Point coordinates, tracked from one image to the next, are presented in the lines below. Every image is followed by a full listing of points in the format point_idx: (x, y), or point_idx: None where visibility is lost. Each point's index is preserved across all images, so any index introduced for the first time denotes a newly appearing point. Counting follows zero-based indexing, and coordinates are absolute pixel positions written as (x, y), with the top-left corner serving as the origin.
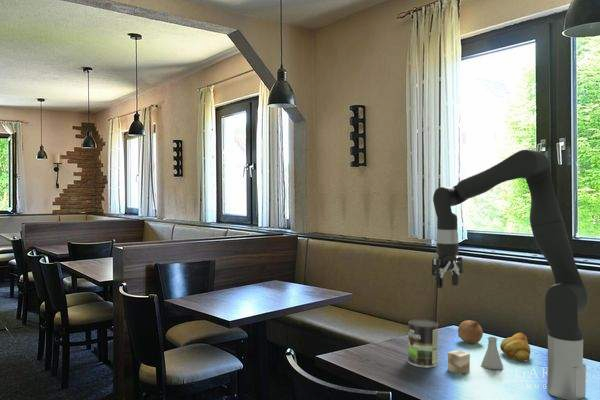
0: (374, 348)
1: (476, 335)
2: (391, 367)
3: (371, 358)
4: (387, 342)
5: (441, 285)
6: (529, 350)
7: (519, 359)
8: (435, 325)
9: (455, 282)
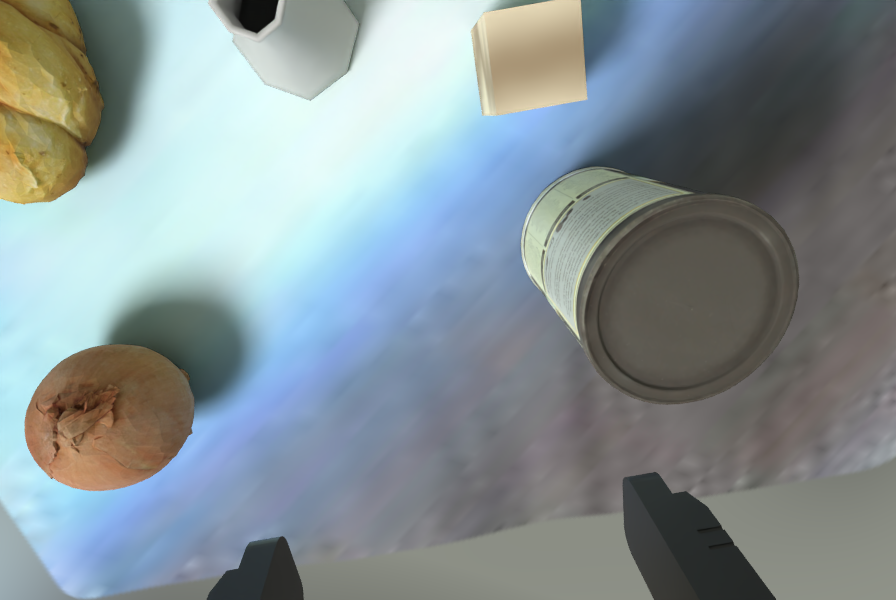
0: (641, 467)
1: (122, 351)
2: None
3: None
4: (535, 511)
5: (672, 494)
6: None
7: (72, 8)
8: (662, 218)
9: (275, 592)
